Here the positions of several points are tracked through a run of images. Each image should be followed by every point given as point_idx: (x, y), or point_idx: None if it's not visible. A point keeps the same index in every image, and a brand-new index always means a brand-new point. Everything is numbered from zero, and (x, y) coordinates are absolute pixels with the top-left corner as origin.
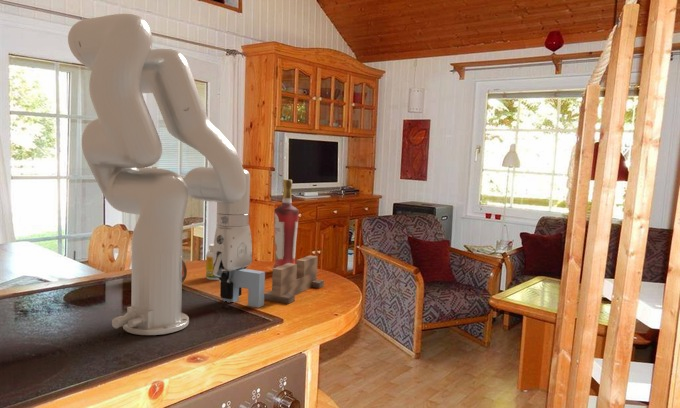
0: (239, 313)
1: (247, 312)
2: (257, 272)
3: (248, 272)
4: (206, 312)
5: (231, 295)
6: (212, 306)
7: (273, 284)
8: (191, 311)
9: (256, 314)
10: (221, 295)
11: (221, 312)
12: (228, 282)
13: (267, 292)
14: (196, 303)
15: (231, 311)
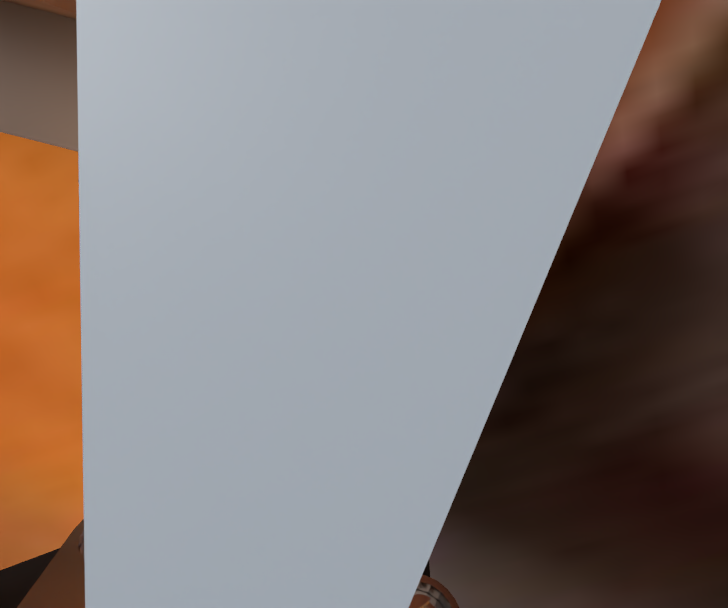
0: (678, 235)
1: (636, 169)
2: (386, 212)
3: (434, 518)
4: (671, 486)
5: None
6: (504, 492)
7: None
8: (655, 572)
9: (704, 42)
10: None
11: (660, 390)
12: (452, 602)
13: (53, 132)
14: (458, 593)
15: (620, 324)
